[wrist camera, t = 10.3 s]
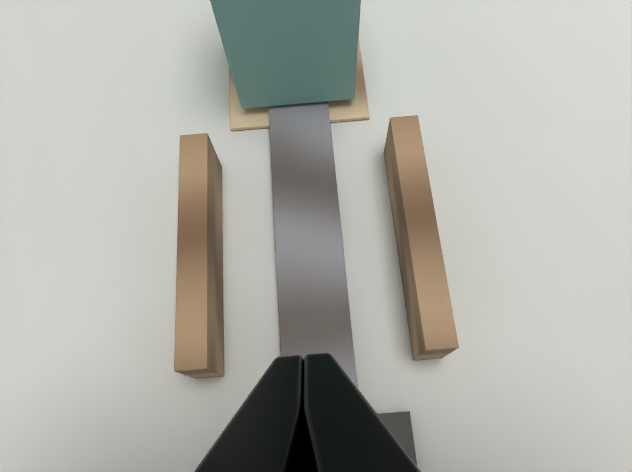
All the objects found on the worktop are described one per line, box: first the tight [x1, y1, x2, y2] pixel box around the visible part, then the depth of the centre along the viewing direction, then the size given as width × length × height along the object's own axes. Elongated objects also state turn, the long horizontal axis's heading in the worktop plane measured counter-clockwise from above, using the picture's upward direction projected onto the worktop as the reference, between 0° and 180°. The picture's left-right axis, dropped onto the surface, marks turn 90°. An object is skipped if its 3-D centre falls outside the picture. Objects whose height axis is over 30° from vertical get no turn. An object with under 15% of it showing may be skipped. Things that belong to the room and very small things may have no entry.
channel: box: [174, 38, 459, 466], centre depth 21 cm, size 28×10×3 cm, turn 4°
